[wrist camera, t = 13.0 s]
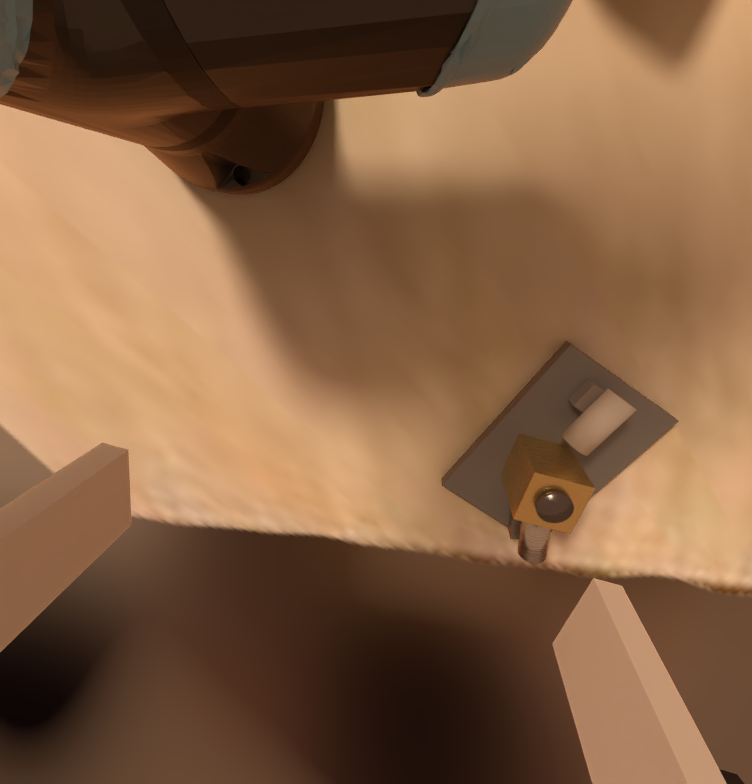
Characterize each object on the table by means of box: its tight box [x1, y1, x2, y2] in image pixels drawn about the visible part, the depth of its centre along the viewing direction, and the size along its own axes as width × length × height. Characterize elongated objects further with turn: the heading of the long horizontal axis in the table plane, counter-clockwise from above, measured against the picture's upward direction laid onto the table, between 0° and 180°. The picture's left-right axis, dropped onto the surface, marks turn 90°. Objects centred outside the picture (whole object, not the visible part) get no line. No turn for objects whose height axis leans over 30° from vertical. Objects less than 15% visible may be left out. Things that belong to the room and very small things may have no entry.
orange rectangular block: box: [501, 434, 595, 534], centre depth 34 cm, size 5×5×7 cm
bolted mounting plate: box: [442, 341, 679, 532], centre depth 36 cm, size 18×12×5 cm, turn 147°
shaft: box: [508, 509, 551, 563], centre depth 38 cm, size 5×4×4 cm
